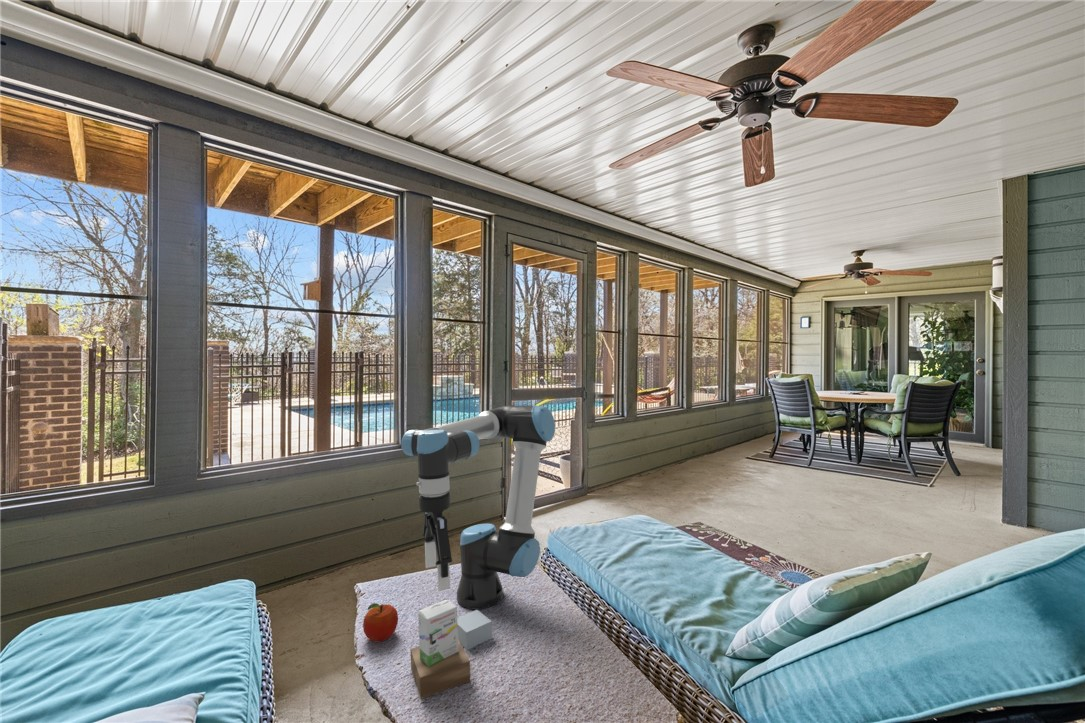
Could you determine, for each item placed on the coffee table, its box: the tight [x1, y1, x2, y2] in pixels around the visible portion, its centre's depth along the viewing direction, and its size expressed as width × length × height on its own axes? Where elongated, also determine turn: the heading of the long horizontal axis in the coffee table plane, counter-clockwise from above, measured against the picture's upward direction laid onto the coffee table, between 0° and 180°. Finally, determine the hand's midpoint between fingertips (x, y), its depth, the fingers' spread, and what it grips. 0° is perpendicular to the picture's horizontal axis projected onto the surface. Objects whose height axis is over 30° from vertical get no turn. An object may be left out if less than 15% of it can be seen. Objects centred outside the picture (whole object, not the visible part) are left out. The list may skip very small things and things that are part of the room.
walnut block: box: [409, 640, 471, 700], centre depth 114 cm, size 12×12×5 cm
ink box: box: [417, 599, 458, 666], centre depth 114 cm, size 8×5×12 cm, turn 131°
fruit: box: [362, 602, 399, 643], centre depth 131 cm, size 10×10×10 cm
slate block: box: [457, 609, 493, 651], centre depth 130 cm, size 8×8×5 cm
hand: (437, 577), depth 114 cm, fingers open, 13 cm apart
